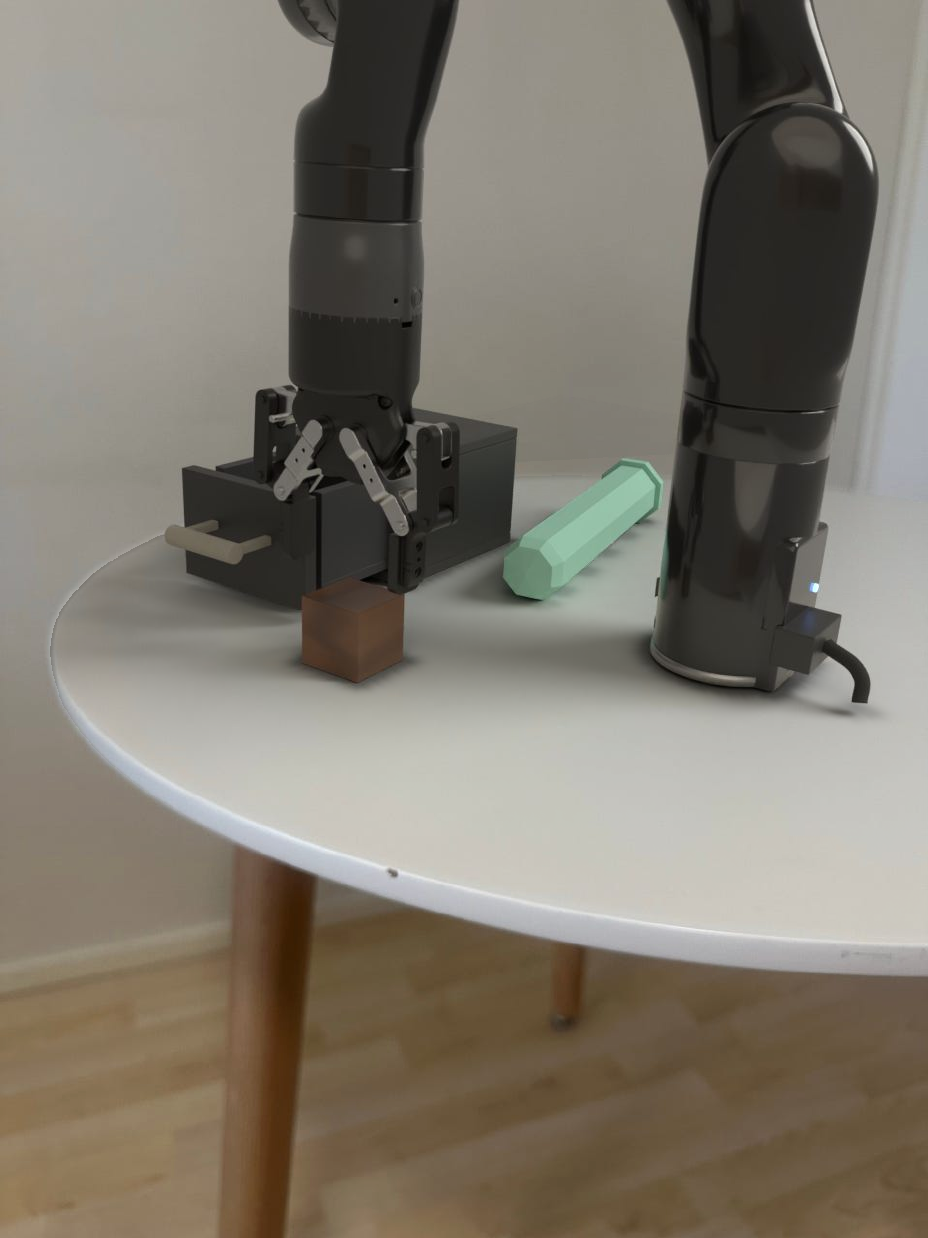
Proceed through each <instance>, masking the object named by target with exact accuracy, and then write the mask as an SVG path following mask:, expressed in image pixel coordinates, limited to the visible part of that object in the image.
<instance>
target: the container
mask: <svg viewBox="0 0 928 1238" xmlns="http://www.w3.org/2000/svg"><path fill="white" fill-rule="evenodd" d="M664 484H665V483H664V480H663V479H662V478H661V476H660V475H659V474H658V473H657V471H656V470H655V469H654V467H653V466H652V464H651V463H650V462H649V461H646V460H639V459H632V458H626V457H623V458H621V459H620V460H618V461H617V462H616V463H615V464H613V466H611V467H610V468H609V469H607V470H606V471H605V472H603V473H602V474H601V478H600V480H599V481H598V482H596V483H594V484H593V485H592V486H591V487H589V488H588V489H586V490H584V492H582V493H581V494H579V495H577V496H576V497H575V498H574V499H572V500H571V501H569V502H568V503H567V504H565V505H564V506H562V507H561V508H560V509H558V510H557V511H555V512H554V513H552V514H551V515H550V516H549V517H547V518H546V519H544V520H543V521H541V522H540V523H538V524H537V525H536V526H534V527H533V528H531V529H530V530H529V531H527V532H526V533H524V534H523V535H521V536H520V537H519V538H518V539H516V540H515V541H514V542H513V543H512V544H510V545H509V546H508V547H506V548H504V555H503V556H504V557H503V573H502V577H503V580H504V581H505V582H506V584H507V585H508V586H509V587H510V588H511V590H512V591H513V592H514V594H515V595H516V596H521V597H526V598H531V599H535V600H540V601H541V600H542V601H545V600H546V599H547V598H548V597H550V596H551V595H553V594H554V593H555V592H556V591H558V590H559V589H561V588H562V587H564V585H566V583H569V581H570V580H571V579H572V578H574V577H575V576H576V575H577V574H578V573H580V571H582V570H583V569H584V568H585V567H586V566H587V565H589V564H590V563H591V562H592V561H593V560H595V558H597V557H598V556H599V555H600V554H601V553H602V552H603V551H605V550H606V549H607V548H608V547H609V546H611V544H613V543H614V542H615V541H616V540H617V539H618V538H620V537H621V536H622V535H624V533H625V532H627V530H629V529H630V528H631V527H632V526H633V525H635V524H640V523H642V522H643V521H644V520H646V519H648V518H649V517H650V516H651V515H652V514H654V513H656V512H657V511H658V510H659V509H660V508H661V507H662V502H663V501H662V500H663V493H664Z"/></svg>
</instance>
